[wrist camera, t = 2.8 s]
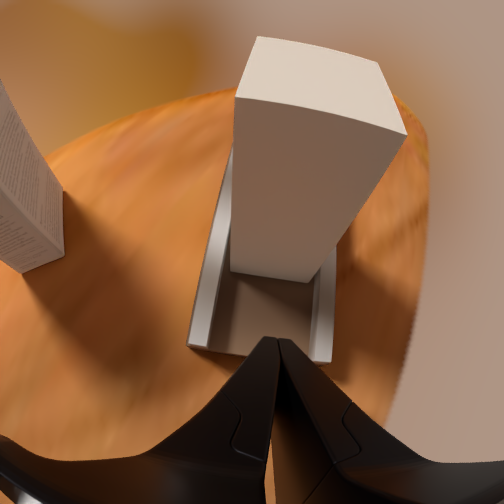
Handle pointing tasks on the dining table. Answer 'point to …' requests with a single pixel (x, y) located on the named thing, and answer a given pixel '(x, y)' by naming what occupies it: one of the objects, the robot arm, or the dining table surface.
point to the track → (258, 299)
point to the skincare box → (26, 197)
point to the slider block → (305, 154)
